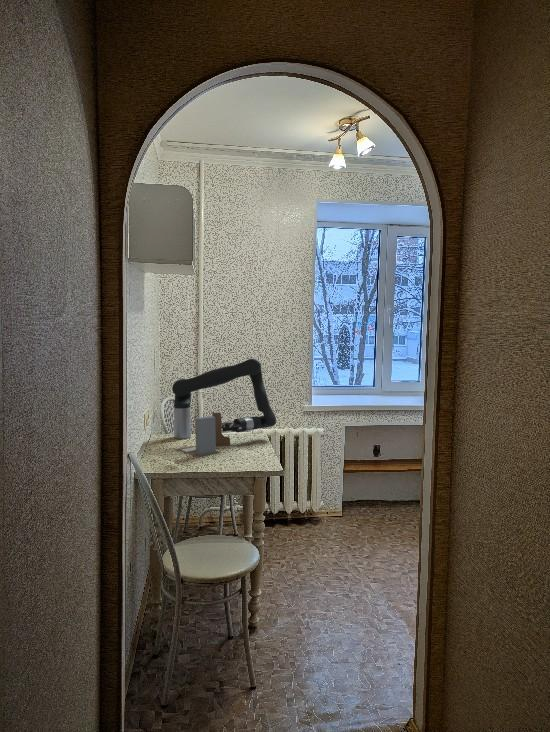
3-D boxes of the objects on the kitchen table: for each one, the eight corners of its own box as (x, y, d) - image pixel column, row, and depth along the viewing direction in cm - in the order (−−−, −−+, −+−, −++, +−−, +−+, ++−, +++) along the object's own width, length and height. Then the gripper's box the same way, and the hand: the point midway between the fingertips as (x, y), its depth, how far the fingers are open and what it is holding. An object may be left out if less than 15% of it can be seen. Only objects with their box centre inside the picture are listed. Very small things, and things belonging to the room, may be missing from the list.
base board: (175, 451, 294) (175, 448, 294) (199, 447, 303) (199, 444, 303) (197, 459, 277) (197, 456, 277) (222, 455, 286) (222, 452, 286)
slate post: (195, 454, 283) (195, 418, 282) (211, 451, 289) (210, 415, 287) (200, 455, 280) (199, 419, 279) (215, 452, 286) (215, 417, 284)
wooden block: (229, 445, 308) (229, 412, 306) (230, 447, 303) (229, 413, 302) (212, 446, 306) (212, 412, 305) (213, 448, 302) (212, 414, 300)
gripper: (235, 416, 318) (210, 419, 308) (251, 419, 307) (225, 423, 297) (236, 429, 319) (211, 433, 308) (251, 433, 307) (225, 437, 297)
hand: (218, 428), depth 303 cm, fingers open, 8 cm apart
